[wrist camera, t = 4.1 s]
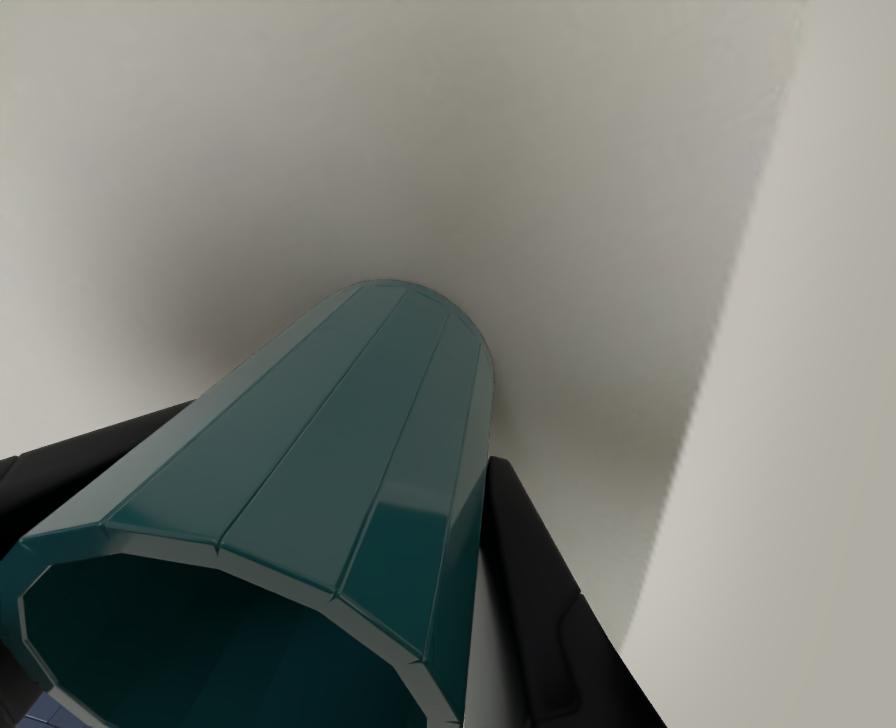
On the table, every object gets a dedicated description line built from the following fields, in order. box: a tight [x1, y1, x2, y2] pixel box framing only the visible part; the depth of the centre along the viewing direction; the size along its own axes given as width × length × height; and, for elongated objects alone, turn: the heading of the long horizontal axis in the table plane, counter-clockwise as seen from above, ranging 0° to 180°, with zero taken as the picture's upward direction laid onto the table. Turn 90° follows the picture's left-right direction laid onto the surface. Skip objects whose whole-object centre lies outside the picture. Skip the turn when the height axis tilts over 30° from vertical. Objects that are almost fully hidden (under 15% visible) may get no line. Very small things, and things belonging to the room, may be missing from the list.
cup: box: [0, 280, 494, 728], centre depth 8 cm, size 6×6×8 cm
